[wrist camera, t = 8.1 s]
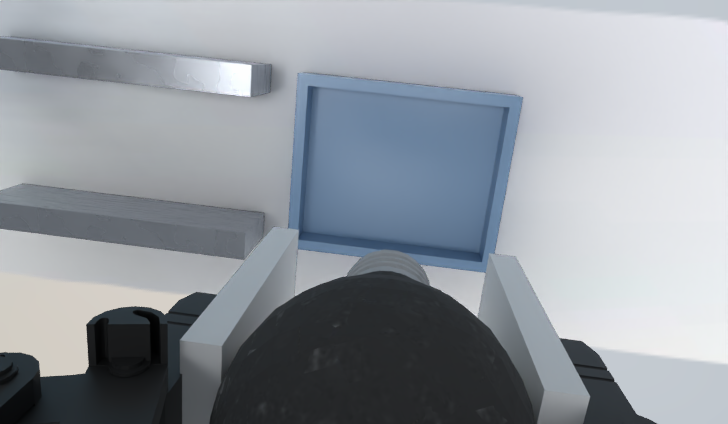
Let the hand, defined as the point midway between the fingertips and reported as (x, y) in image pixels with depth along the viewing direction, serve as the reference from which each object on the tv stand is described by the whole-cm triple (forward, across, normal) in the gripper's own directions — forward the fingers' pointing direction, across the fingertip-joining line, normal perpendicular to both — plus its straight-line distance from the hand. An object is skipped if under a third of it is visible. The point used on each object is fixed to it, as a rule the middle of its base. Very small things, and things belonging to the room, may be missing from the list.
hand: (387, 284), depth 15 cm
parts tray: (+17, 0, 0) cm, 17 cm away
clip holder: (+17, -16, 0) cm, 23 cm away
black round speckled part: (+1, 0, 0) cm, 1 cm away
